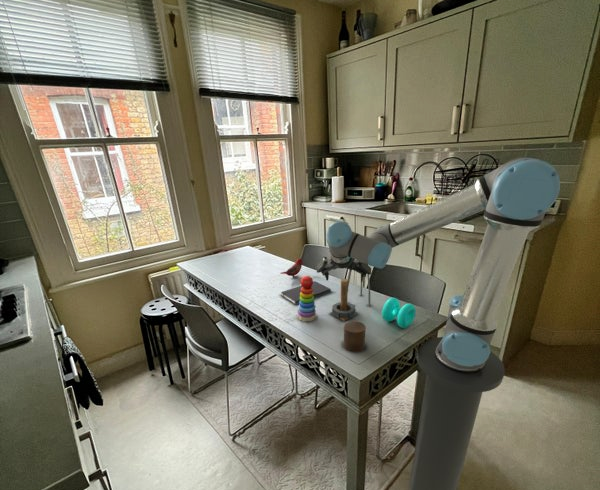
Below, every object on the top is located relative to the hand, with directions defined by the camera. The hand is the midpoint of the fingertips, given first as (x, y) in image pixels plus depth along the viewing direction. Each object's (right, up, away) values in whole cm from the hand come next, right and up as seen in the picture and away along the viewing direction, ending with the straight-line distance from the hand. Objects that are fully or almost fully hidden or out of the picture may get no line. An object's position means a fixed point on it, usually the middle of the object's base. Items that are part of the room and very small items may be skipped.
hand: (344, 278), depth 126 cm
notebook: (-15, -7, +30) cm, 34 cm away
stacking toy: (-15, -17, +8) cm, 24 cm away
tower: (+1, -15, +10) cm, 18 cm away
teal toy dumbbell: (+22, -18, +1) cm, 28 cm away
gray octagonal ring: (+1, -14, +9) cm, 17 cm away
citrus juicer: (+10, -11, +19) cm, 24 cm away
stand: (+2, -25, -11) cm, 27 cm away
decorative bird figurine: (-22, +1, +47) cm, 52 cm away
